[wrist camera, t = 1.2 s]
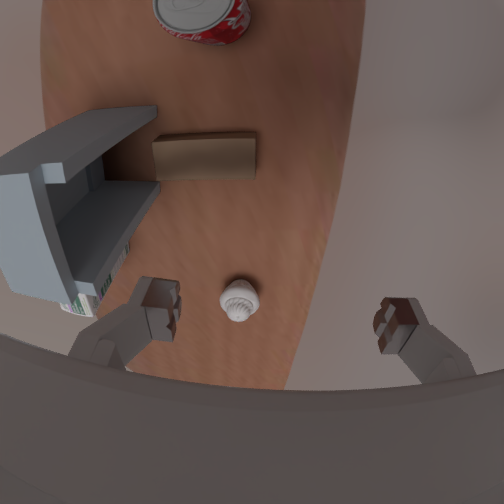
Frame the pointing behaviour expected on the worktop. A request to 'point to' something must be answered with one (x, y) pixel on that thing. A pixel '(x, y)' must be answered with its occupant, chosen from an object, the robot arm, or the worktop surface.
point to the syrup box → (89, 303)
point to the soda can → (204, 19)
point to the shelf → (69, 206)
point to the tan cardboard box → (205, 156)
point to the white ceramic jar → (239, 300)
